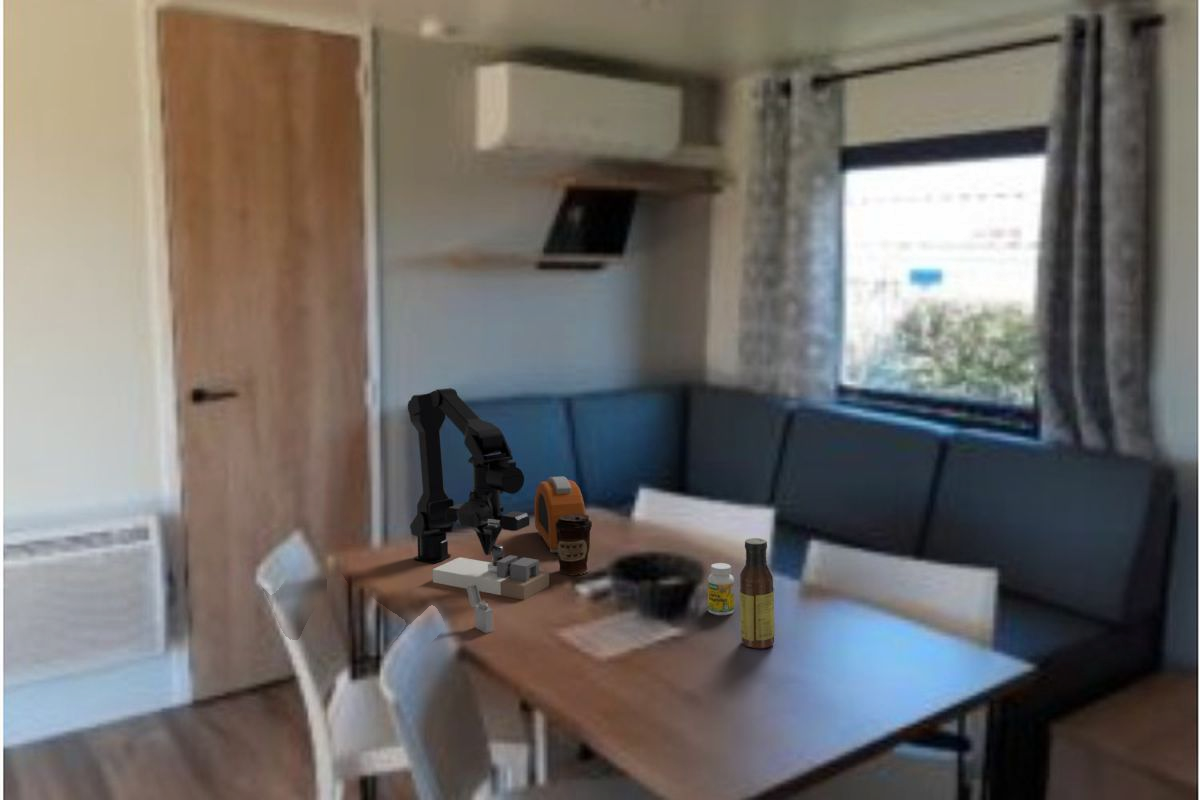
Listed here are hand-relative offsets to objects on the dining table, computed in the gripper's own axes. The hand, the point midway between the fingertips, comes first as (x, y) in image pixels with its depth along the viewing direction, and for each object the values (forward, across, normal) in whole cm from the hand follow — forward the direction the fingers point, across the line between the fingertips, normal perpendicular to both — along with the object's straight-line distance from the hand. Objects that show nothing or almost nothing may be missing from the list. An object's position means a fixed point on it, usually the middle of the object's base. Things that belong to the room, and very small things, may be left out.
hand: (487, 554), depth 221 cm
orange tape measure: (+7, -2, +35) cm, 36 cm away
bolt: (+3, +6, 0) cm, 7 cm away
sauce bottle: (+7, +64, -5) cm, 64 cm away
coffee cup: (+7, +12, +16) cm, 21 cm away
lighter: (+7, +13, -22) cm, 27 cm away
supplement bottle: (+7, +52, +8) cm, 53 cm away
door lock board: (+7, +1, 0) cm, 7 cm away
